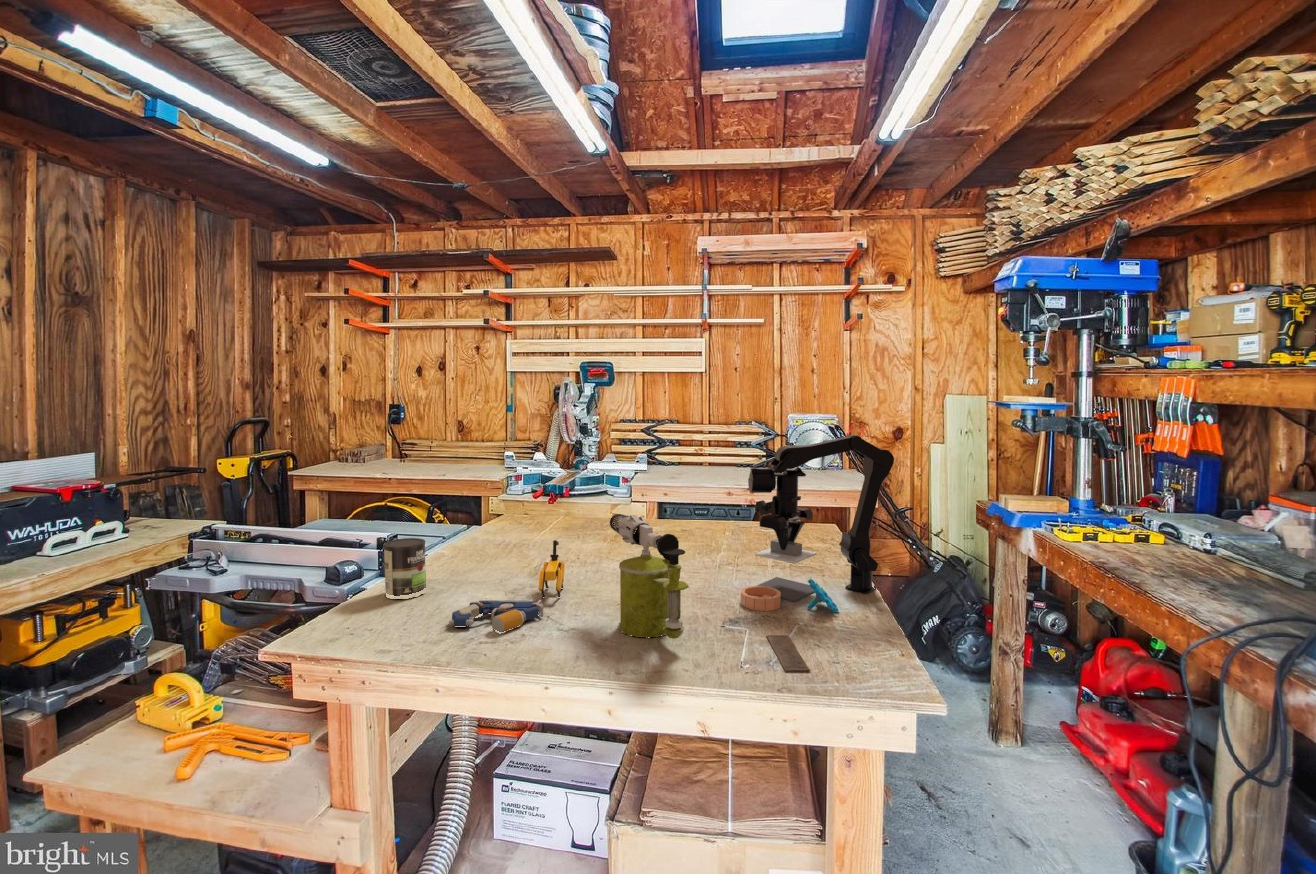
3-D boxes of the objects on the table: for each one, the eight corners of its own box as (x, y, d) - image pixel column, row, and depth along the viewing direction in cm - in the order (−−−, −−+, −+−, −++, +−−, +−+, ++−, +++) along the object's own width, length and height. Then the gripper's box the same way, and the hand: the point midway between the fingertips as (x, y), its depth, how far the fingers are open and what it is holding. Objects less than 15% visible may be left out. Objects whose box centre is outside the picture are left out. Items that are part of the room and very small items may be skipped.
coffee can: (434, 589, 160) (433, 539, 159) (407, 602, 150) (406, 548, 149) (404, 585, 163) (403, 536, 162) (376, 597, 153) (374, 545, 152)
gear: (841, 613, 139) (811, 580, 141) (822, 629, 140) (793, 596, 142) (840, 603, 149) (812, 573, 152) (822, 618, 150) (795, 588, 153)
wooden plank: (766, 633, 129) (788, 632, 129) (766, 639, 129) (788, 637, 129) (785, 670, 112) (811, 669, 112) (785, 677, 112) (811, 675, 113)
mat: (776, 578, 170) (776, 577, 170) (820, 589, 161) (820, 587, 161) (749, 589, 160) (749, 588, 160) (795, 602, 151) (795, 600, 151)
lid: (778, 547, 168) (778, 534, 168) (816, 554, 160) (816, 541, 160) (755, 555, 159) (755, 542, 159) (794, 563, 151) (794, 550, 151)
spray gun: (532, 636, 129) (548, 612, 144) (531, 618, 129) (548, 596, 144) (441, 636, 130) (466, 613, 145) (440, 618, 130) (465, 596, 145)
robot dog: (567, 581, 167) (567, 535, 166) (560, 603, 149) (560, 552, 148) (547, 581, 167) (547, 536, 166) (538, 604, 149) (537, 553, 148)
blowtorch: (653, 661, 117) (653, 539, 115) (594, 608, 146) (593, 510, 144) (708, 648, 123) (709, 532, 121) (640, 600, 152) (640, 505, 150)
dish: (755, 594, 157) (755, 583, 156) (787, 603, 150) (788, 591, 150) (733, 603, 149) (733, 592, 149) (766, 613, 142) (766, 601, 142)
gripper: (779, 485, 171) (778, 537, 172) (743, 493, 157) (742, 550, 158) (813, 489, 163) (813, 544, 164) (779, 498, 150) (778, 557, 151)
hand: (786, 548), depth 160 cm, fingers closed on lid, 3 cm apart
